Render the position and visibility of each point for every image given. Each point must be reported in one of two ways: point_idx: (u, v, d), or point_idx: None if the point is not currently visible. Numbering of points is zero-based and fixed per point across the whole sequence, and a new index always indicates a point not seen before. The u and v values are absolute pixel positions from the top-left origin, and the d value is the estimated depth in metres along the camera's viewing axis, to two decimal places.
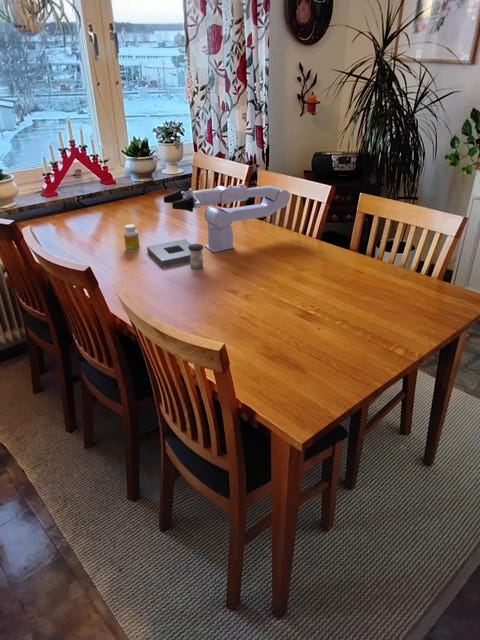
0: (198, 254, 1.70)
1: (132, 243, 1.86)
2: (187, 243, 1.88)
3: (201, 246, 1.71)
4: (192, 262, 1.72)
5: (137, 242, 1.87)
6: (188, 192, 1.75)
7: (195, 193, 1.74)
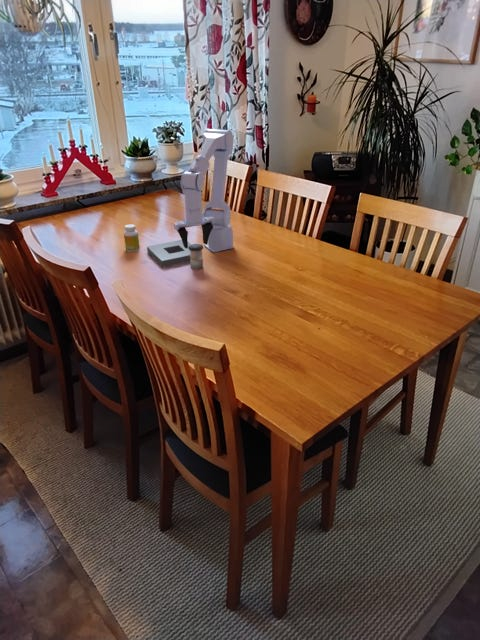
0: (198, 254, 1.70)
1: (132, 243, 1.86)
2: None
3: (201, 246, 1.71)
4: (192, 262, 1.72)
5: (137, 242, 1.87)
6: None
7: (200, 219, 1.64)
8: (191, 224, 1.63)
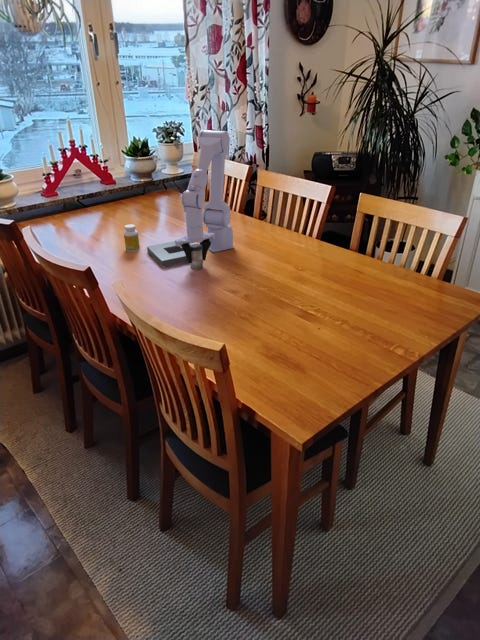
0: (198, 254, 1.70)
1: (132, 243, 1.86)
2: None
3: (201, 246, 1.71)
4: (192, 262, 1.72)
5: (137, 242, 1.87)
6: None
7: (201, 235, 1.67)
8: (192, 241, 1.66)
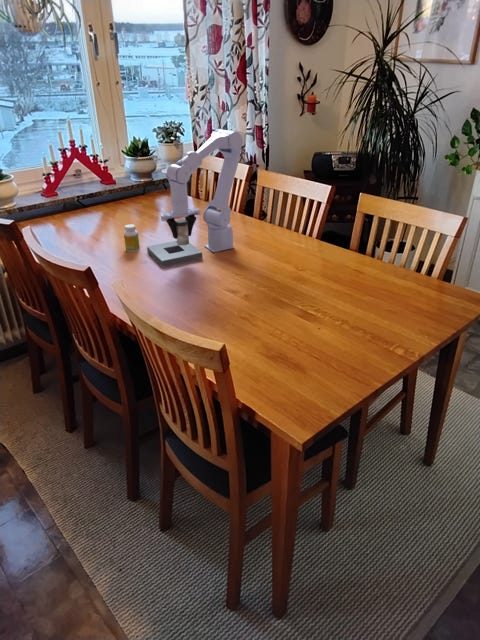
0: (184, 229, 1.72)
1: (132, 243, 1.86)
2: None
3: (186, 221, 1.72)
4: (178, 238, 1.74)
5: (137, 242, 1.87)
6: None
7: (186, 210, 1.69)
8: (177, 216, 1.68)
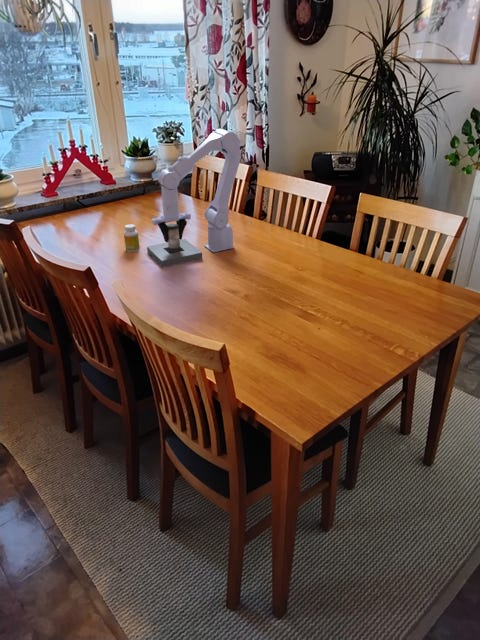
0: (175, 232, 1.77)
1: (132, 243, 1.86)
2: (187, 243, 1.88)
3: (177, 225, 1.78)
4: (169, 241, 1.79)
5: (137, 242, 1.87)
6: None
7: (177, 215, 1.74)
8: (168, 220, 1.74)
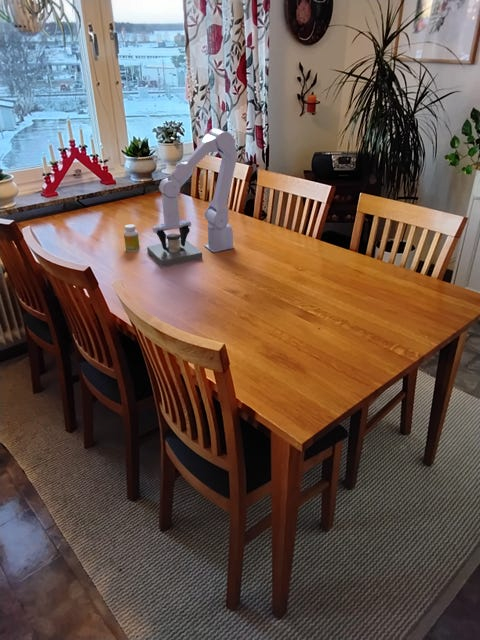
0: (176, 242, 1.79)
1: (132, 243, 1.86)
2: (187, 243, 1.88)
3: (178, 235, 1.80)
4: (170, 251, 1.81)
5: (137, 242, 1.87)
6: None
7: (177, 222, 1.76)
8: (169, 227, 1.75)
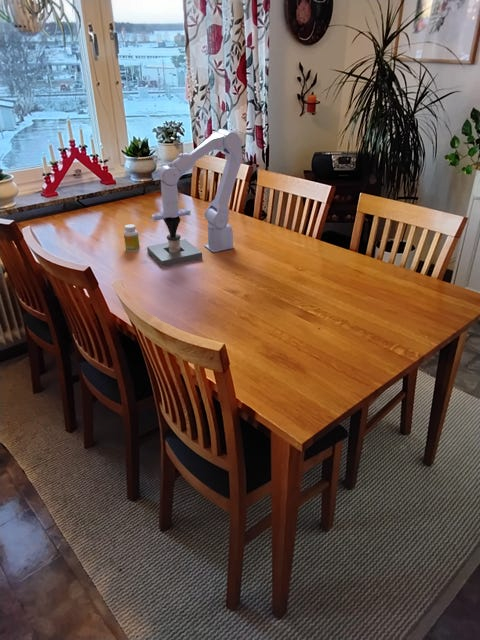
0: (176, 243, 1.79)
1: (132, 243, 1.86)
2: (187, 243, 1.88)
3: (179, 236, 1.80)
4: (170, 251, 1.81)
5: (137, 242, 1.87)
6: None
7: (177, 211, 1.74)
8: (168, 216, 1.73)
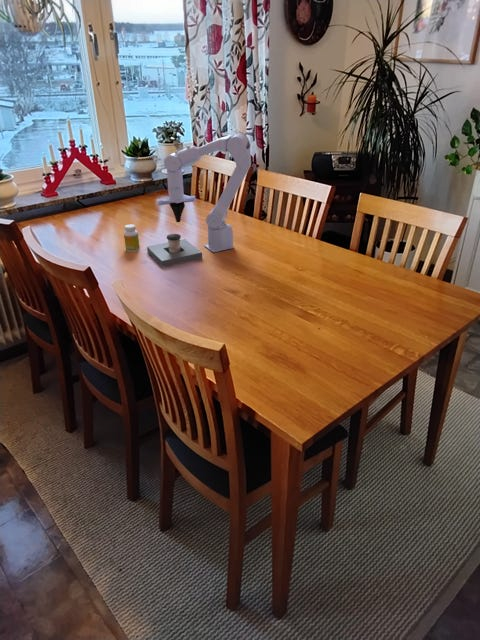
0: (176, 243, 1.79)
1: (132, 243, 1.86)
2: (187, 243, 1.88)
3: (179, 236, 1.80)
4: (170, 251, 1.81)
5: (137, 242, 1.87)
6: None
7: (181, 197, 1.81)
8: (172, 201, 1.81)
